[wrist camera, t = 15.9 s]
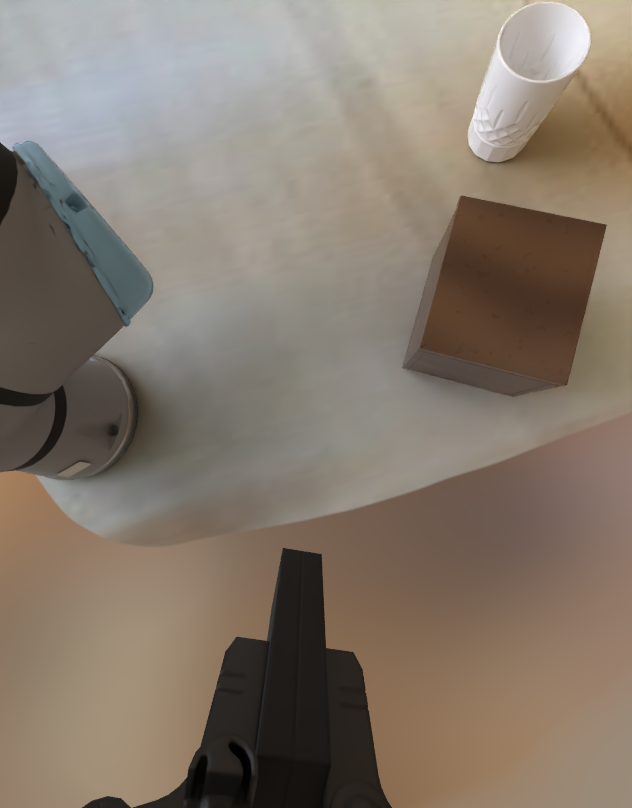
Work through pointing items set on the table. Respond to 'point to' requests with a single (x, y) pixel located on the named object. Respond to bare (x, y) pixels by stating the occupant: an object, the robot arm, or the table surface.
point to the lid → (513, 289)
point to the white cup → (526, 77)
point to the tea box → (457, 368)
